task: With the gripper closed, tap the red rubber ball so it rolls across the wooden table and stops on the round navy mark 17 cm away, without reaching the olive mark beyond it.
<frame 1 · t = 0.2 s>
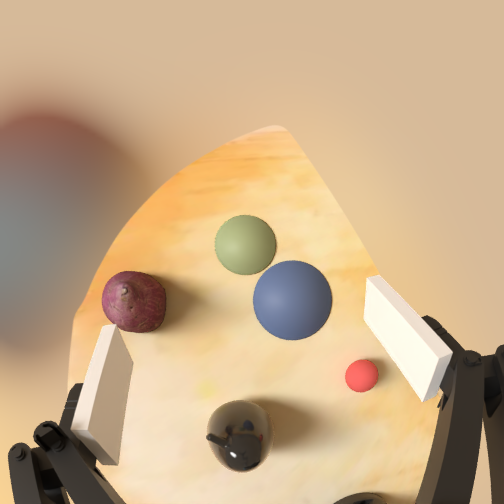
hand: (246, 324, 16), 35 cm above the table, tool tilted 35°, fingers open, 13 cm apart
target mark: (293, 300, 51), on the table
vegetable: (137, 302, 50), on the table
ball: (361, 376, 47), on the table
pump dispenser: (239, 421, 47), on the table
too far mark: (245, 244, 53), on the table
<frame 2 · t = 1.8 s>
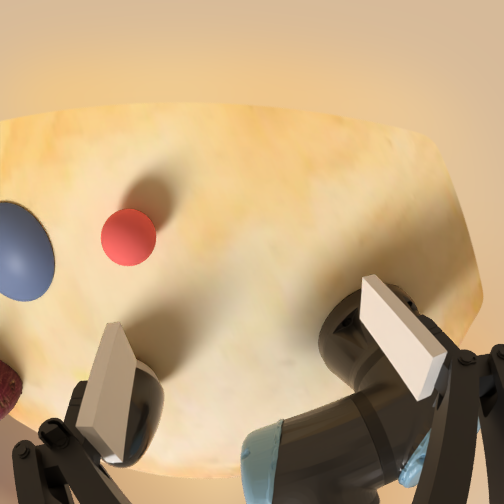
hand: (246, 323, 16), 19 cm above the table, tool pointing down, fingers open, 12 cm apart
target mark: (11, 254, 30), on the table
ball: (128, 237, 29), on the table
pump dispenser: (129, 371, 40), on the table
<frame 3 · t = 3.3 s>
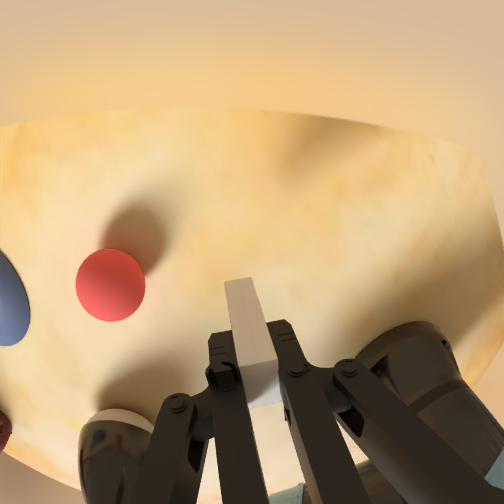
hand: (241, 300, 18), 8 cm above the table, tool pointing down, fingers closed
ball: (110, 285, 22), on the table
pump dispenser: (124, 421, 32), on the table
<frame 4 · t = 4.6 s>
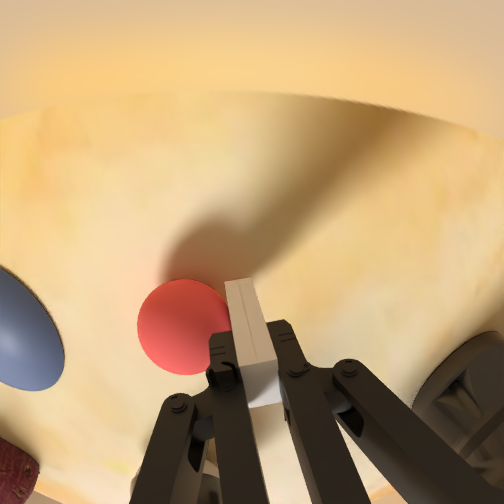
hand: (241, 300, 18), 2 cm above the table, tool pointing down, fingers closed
vegetable: (9, 453, 26), on the table
ball: (185, 327, 18), on the table, touching gripper
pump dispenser: (179, 461, 28), on the table
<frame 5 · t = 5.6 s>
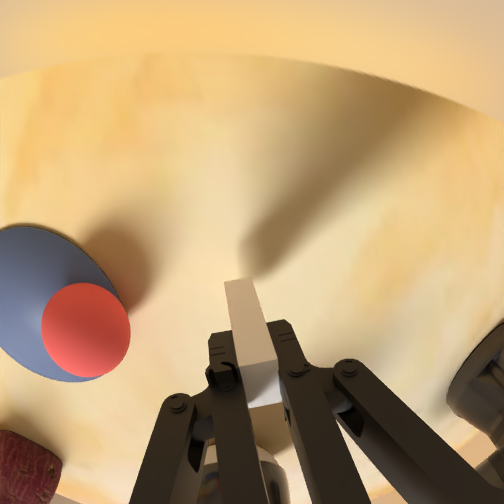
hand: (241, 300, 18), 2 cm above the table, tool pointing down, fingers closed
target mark: (41, 314, 18), on the table
vegetable: (27, 452, 25), on the table
ball: (85, 330, 16), on the table
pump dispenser: (228, 452, 28), on the table
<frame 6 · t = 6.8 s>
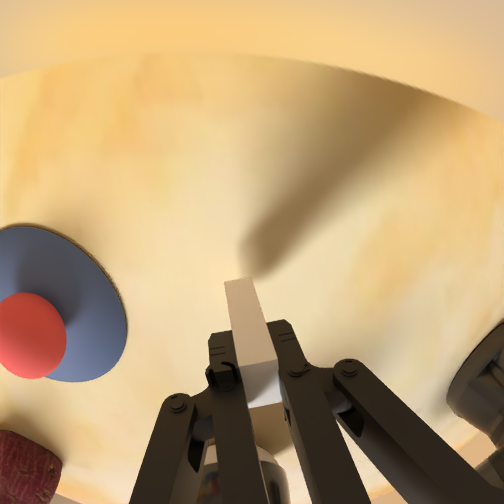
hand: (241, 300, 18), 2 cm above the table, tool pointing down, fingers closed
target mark: (41, 314, 18), on the table
vegetable: (27, 452, 25), on the table
ball: (27, 335, 16), on the table
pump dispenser: (228, 452, 28), on the table
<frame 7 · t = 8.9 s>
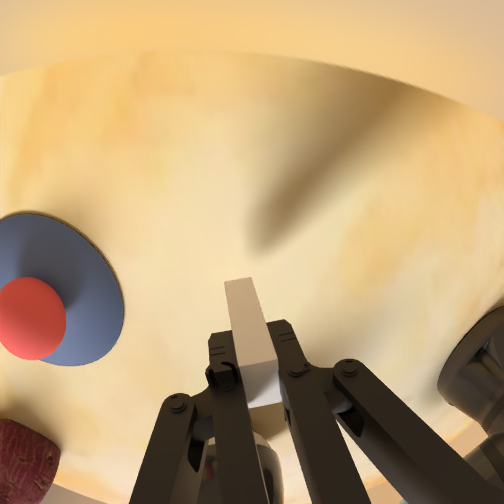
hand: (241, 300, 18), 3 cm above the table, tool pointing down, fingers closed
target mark: (42, 299, 19), on the table
vegetable: (26, 441, 27), on the table
ball: (28, 318, 17), on the table
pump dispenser: (222, 437, 29), on the table
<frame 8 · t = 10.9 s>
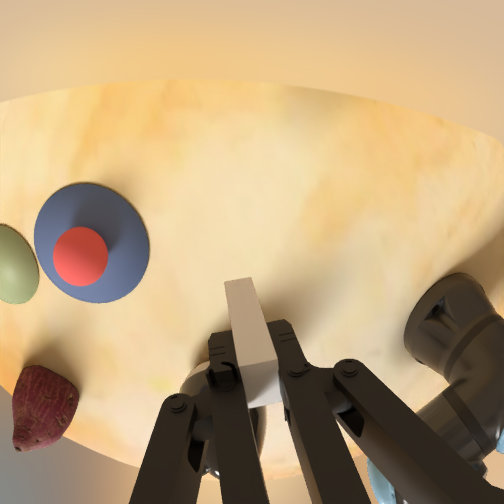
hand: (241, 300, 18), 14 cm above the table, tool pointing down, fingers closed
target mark: (87, 247, 29), on the table
vegetable: (49, 388, 36), on the table
ball: (80, 256, 26), on the table
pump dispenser: (218, 374, 39), on the table
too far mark: (4, 266, 28), on the table
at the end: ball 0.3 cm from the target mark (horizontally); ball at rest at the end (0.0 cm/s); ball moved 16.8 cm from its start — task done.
